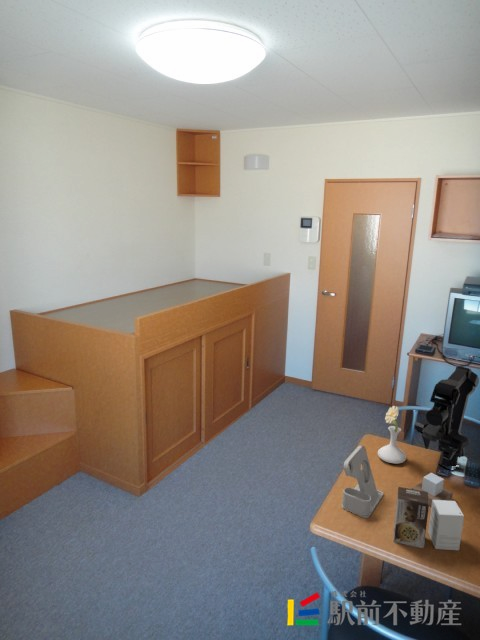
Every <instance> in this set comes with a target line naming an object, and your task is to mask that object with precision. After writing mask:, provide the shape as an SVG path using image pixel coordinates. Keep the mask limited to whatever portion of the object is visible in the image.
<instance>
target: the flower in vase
mask: <svg viewBox="0 0 480 640" xmlns="http://www.w3.org/2000/svg"><path fill="white" fill-rule="evenodd" d="M399 414H400V412H399V407H398V406H396V405H392V407H391V406H390V407H389V408H388V410H387V412H386V413H385V416H384V421H385V423H386V424H389V425H390V424H392V425H390V426H388V428H387V429H388V431H389V433H390V440H389V441H390V442H389V443H388V444H386V445H384V446H381V448H379V449H378V451H377V455H378V457H379V459H381V460H382V461H384V462H386V463H390V464H395V465H396V464H397V465H398V464H402V463H404V462H405V461H406V460H407V455H406V453H405V452H404V451H403V450H402V449H401V448H400V447H399V446H398V445H397V439H398V435H399V433H400V432H401V431H402V428H401V427H399V425H398V421H397V418H398V416H399Z"/></svg>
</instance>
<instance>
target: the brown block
mask: <svg viewBox="0 0 480 640" xmlns="http://www.w3.org/2000/svg"><path fill="white" fill-rule="evenodd" d="M422 484H423V481H421V482H420V483H418V484H416V485H414V486H413V487H411V489H414V490H419V491H424V490H422ZM425 492H426V491H425ZM453 494H454V493H453V492H452V491H451V490H449V489H446V488H445V487H443V490H442V492H441V493H439V494H438V495H436V496H433V495H431V494H429V493H428V497H429V508H431V507H432V500H446V501H453Z"/></svg>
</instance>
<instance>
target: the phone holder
mask: <svg viewBox="0 0 480 640" xmlns="http://www.w3.org/2000/svg"><path fill="white" fill-rule="evenodd" d="M367 453H368V452H367V449H366V447H365V446H364V445H358V446H357V447H356V448H355V449H354V450H353V452H351V453H350V455H348V457H347V458H346V459H345V461H344V462H343V471H344V473H345V476H347V477H350V478H353V479H356V481H357V484H356V485H355V487H354V488H353V487H345V488H344V489H343V490H342V503H341V505H340V506H341V509H342V508H343V509H342V510H344V509H345V510H344V511H346V510H347V512H349V511H350V512H349V513H351V512H352V514H354V515H356V514H357V515H356V516H358V515H359V517H360V518H361V517H362V518H363V519H369V518H370V516H371V515H372V513H373V512H374V510H375V508H376V507H377V506H378V504H379V503H380V501H381V499H382V498H383V497H384V492H383V491H381V490H379V489H377V486H376V483H375V479H374V475H373V472H372V468H371V465H370V464H371V463H370V460H369V457H368V454H367Z"/></svg>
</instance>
